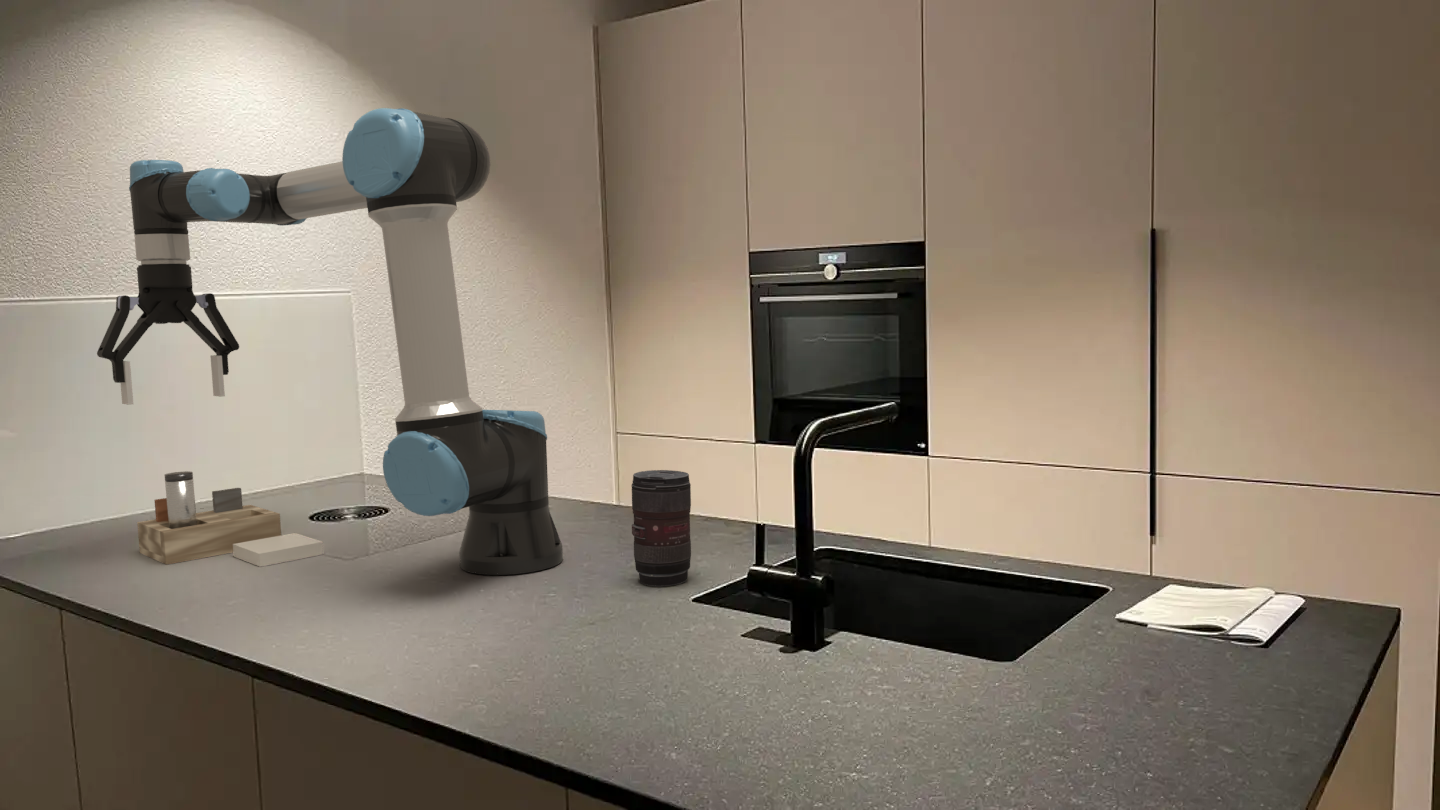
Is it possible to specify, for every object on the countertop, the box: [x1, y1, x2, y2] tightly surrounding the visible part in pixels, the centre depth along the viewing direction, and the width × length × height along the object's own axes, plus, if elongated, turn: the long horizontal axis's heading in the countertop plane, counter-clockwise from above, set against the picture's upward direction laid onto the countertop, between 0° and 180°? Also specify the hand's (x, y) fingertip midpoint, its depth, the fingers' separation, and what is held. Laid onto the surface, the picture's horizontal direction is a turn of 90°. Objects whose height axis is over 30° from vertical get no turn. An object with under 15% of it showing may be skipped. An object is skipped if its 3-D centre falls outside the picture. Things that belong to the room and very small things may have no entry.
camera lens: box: [631, 469, 692, 587], centre depth 154 cm, size 8×8×15 cm
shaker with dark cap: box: [164, 470, 197, 529], centre depth 177 cm, size 4×4×12 cm
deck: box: [233, 532, 325, 568], centre depth 176 cm, size 10×10×2 cm
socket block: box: [136, 487, 282, 565], centre depth 182 cm, size 12×18×8 cm, turn 135°
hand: (174, 400), depth 175 cm, fingers open, 13 cm apart
